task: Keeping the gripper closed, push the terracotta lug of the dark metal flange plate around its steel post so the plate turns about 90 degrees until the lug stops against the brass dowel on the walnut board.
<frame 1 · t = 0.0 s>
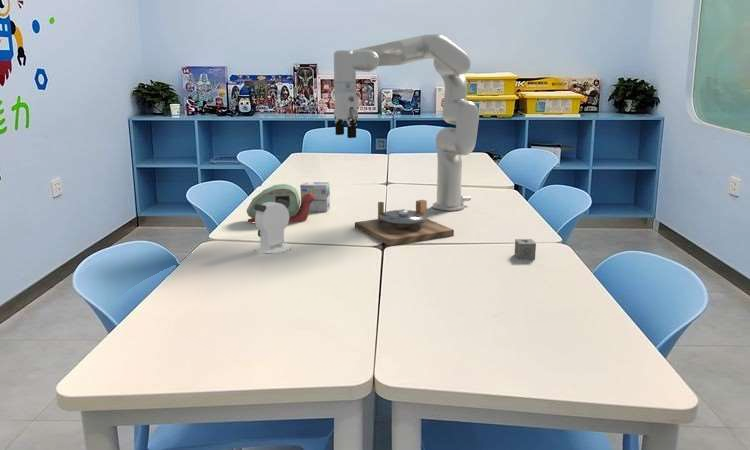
hand: (345, 136, 230), 31 cm above the table, tool pointing down, fingers open, 9 cm apart
light bulb box: (315, 210, 256), on the table
flange plate: (405, 211, 223), point 7 cm above the table, hinge at 0.0°
dice cube: (524, 257, 197), on the table
white mount stand: (273, 248, 206), on the table
toy snail: (281, 221, 239), on the table
pivot base: (403, 231, 224), on the table
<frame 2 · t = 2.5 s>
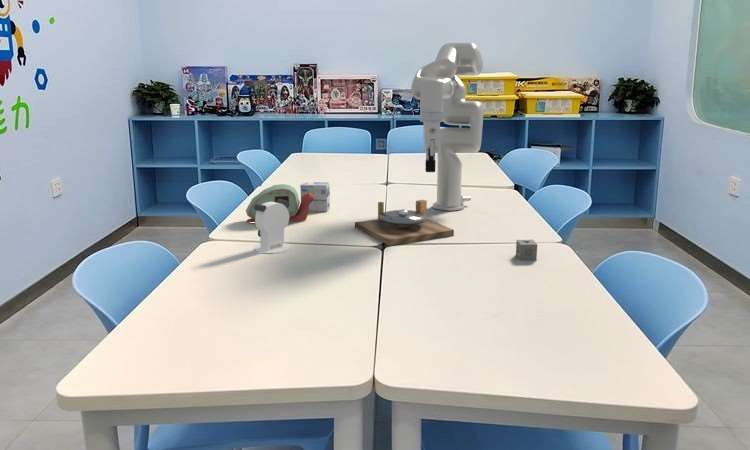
hand: (430, 171, 219), 21 cm above the table, tool pointing down, fingers closed
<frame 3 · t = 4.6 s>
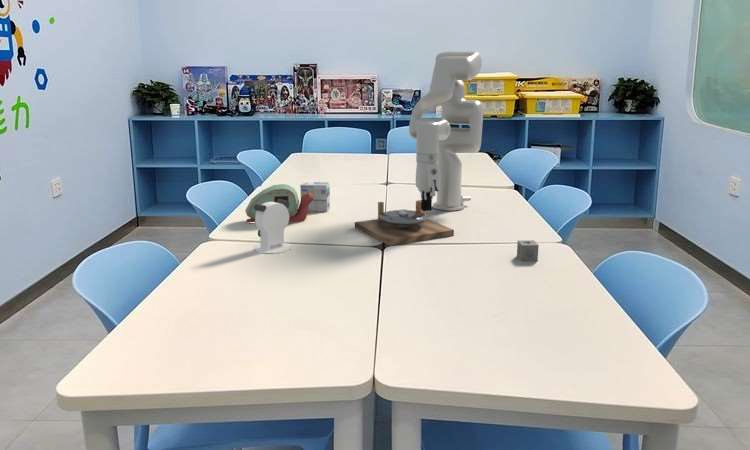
hand: (426, 210, 226), 7 cm above the table, tool pointing down, fingers closed
flange plate: (405, 211, 223), point 7 cm above the table, hinge at 0.2°, touching gripper
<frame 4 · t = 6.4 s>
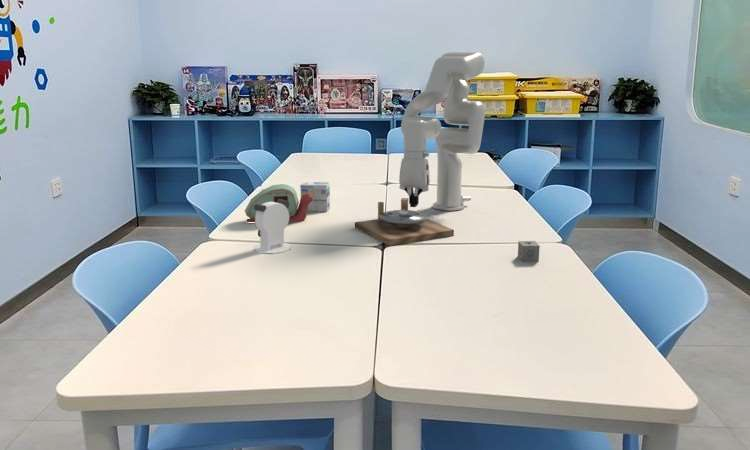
hand: (413, 206, 230), 7 cm above the table, tool pointing down, fingers closed
flange plate: (403, 211, 224), point 7 cm above the table, hinge at 41.6°, touching gripper
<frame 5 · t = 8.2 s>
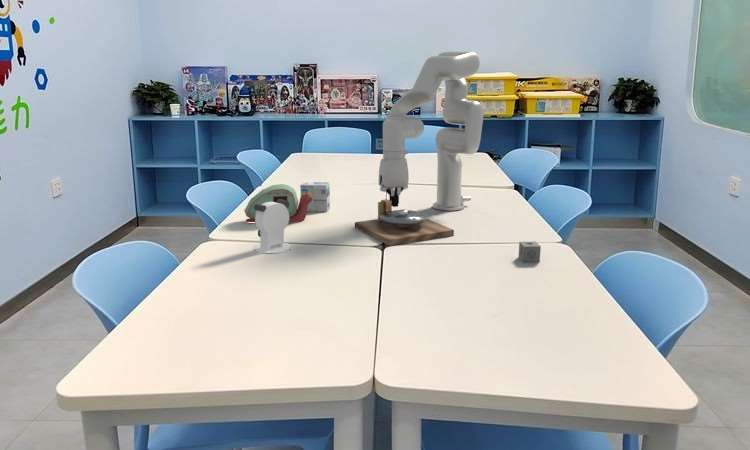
hand: (394, 205, 231), 7 cm above the table, tool pointing down, fingers closed
flange plate: (400, 211, 223), point 7 cm above the table, hinge at 86.8°, touching gripper, pivot base
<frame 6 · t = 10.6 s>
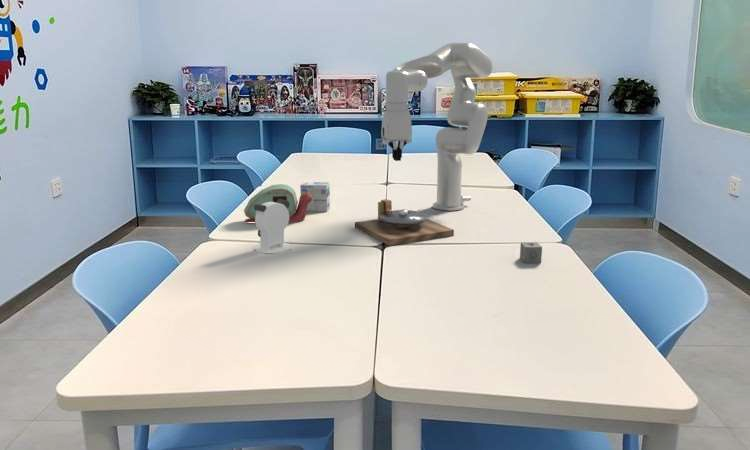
hand: (397, 160, 228), 23 cm above the table, tool pointing down, fingers closed
flange plate: (400, 211, 223), point 7 cm above the table, hinge at 86.8°
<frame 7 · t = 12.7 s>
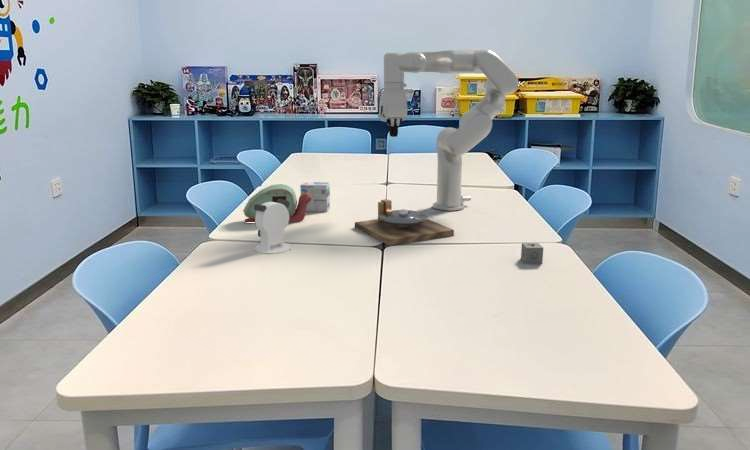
hand: (393, 136, 246), 29 cm above the table, tool pointing down, fingers closed
at the end: flange plate at +87° (first picture: +0°) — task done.
